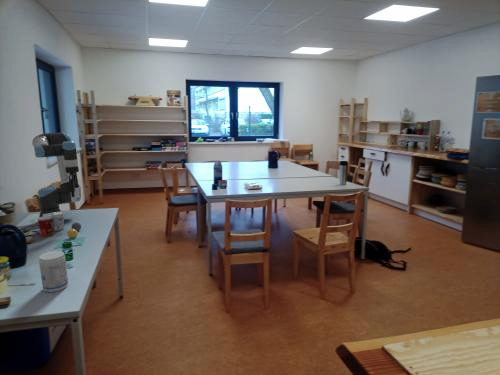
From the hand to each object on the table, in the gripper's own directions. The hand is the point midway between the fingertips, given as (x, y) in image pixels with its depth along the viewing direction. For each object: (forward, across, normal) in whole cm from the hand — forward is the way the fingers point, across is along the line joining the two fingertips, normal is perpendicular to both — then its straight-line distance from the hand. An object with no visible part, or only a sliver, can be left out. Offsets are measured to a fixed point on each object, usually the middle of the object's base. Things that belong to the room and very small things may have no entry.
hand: (75, 199), depth 230 cm
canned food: (+18, +12, -16) cm, 27 cm away
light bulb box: (+18, +2, -14) cm, 23 cm away
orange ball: (+15, +23, 0) cm, 28 cm away
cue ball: (+15, +9, 0) cm, 18 cm away
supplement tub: (+18, +89, +4) cm, 91 cm away
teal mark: (+18, +32, 0) cm, 36 cm away
